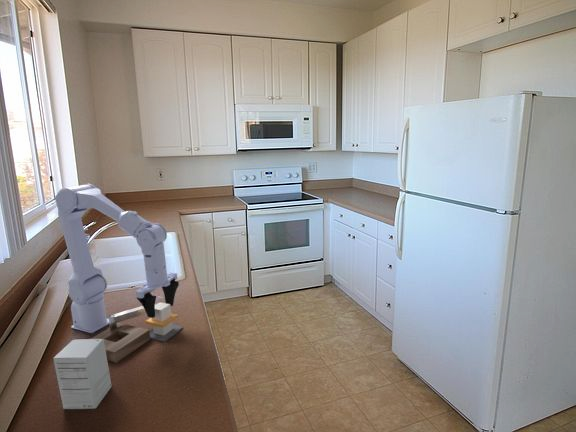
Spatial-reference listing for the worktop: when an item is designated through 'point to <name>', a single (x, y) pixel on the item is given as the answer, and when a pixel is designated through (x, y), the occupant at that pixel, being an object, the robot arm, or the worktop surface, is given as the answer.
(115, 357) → the socket block
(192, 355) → the worktop surface
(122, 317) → the light grey long bar
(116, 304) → the worktop surface
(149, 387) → the worktop surface
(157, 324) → the plug
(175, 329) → the mat
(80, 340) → the supplement box
